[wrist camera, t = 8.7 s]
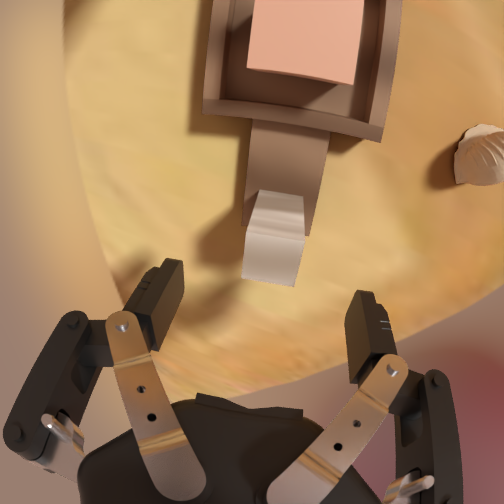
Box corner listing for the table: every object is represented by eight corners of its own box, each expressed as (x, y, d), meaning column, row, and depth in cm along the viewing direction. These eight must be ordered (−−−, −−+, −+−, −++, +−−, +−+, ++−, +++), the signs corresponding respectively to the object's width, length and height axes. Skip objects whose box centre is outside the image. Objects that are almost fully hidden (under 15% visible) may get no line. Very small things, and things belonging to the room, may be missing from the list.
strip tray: (228, -30, 12) (196, -73, 6) (392, -5, 12) (434, -36, 6) (206, 212, 23) (173, 265, 17) (345, 235, 22) (360, 296, 16)
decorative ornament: (443, 136, 17) (480, 155, 12) (514, 113, 14) (555, 129, 9) (454, 183, 18) (487, 213, 14) (521, 158, 15) (559, 181, 11)
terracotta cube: (267, 3, 13) (258, -22, 9) (347, 15, 13) (364, -5, 9) (259, 71, 16) (246, 67, 12) (338, 84, 15) (353, 84, 11)
